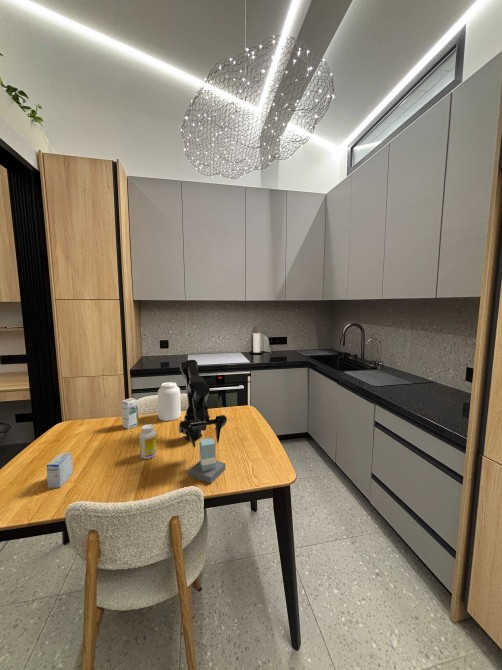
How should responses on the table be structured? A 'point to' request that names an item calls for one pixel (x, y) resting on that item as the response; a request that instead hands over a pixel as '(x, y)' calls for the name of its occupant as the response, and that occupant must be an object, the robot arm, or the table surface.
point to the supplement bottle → (147, 442)
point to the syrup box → (129, 413)
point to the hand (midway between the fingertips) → (206, 445)
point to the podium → (207, 472)
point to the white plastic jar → (169, 402)
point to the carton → (207, 454)
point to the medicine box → (59, 470)
